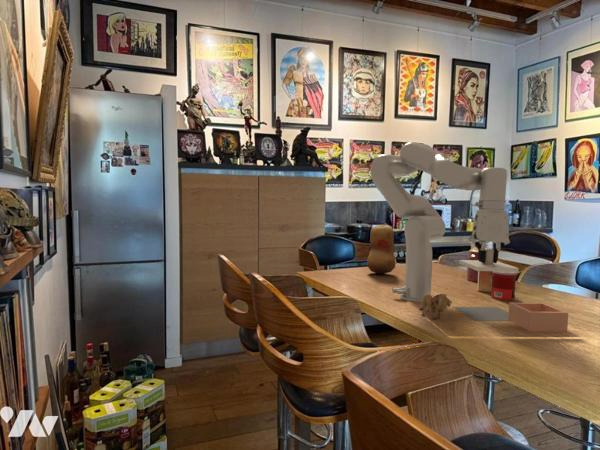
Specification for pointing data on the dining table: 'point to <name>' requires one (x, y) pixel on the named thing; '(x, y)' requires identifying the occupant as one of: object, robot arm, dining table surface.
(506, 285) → the canned food
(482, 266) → the lid
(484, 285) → the small box
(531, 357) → the dining table surface
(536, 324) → the pink square box
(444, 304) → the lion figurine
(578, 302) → the dining table surface
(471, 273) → the canister
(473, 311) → the mat
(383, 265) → the butternut squash
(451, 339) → the dining table surface
